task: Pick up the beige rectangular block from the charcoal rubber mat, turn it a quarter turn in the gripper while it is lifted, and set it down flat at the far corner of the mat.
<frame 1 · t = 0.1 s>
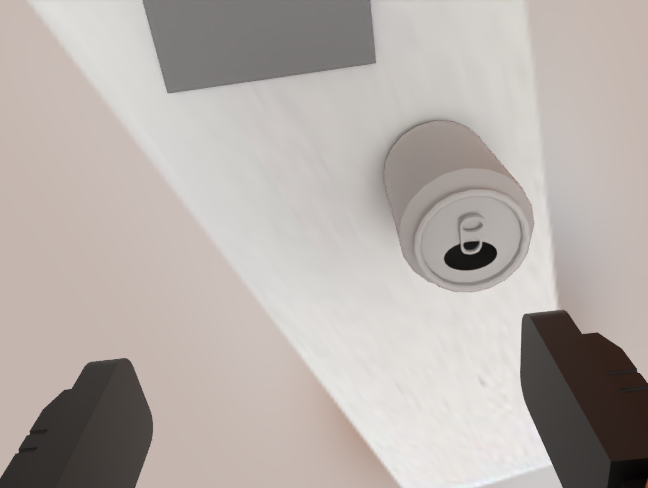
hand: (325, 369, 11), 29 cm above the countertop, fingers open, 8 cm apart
can: (433, 167, 40), on the countertop
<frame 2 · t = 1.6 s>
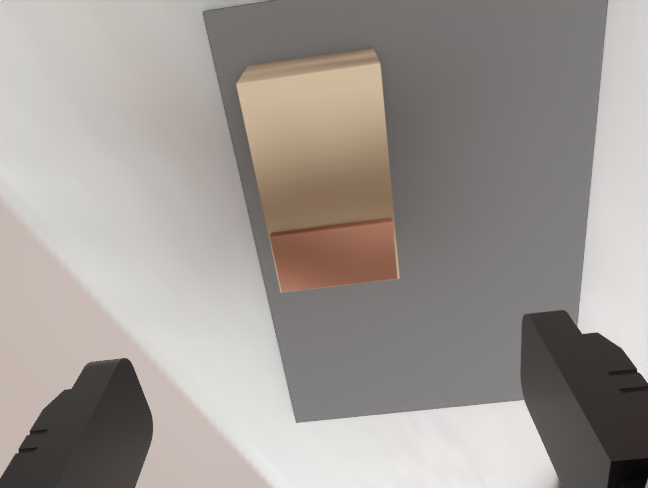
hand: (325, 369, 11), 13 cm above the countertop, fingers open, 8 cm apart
mat: (417, 232, 24), on the countertop
beige rectangular block: (325, 160, 22), resting on mat
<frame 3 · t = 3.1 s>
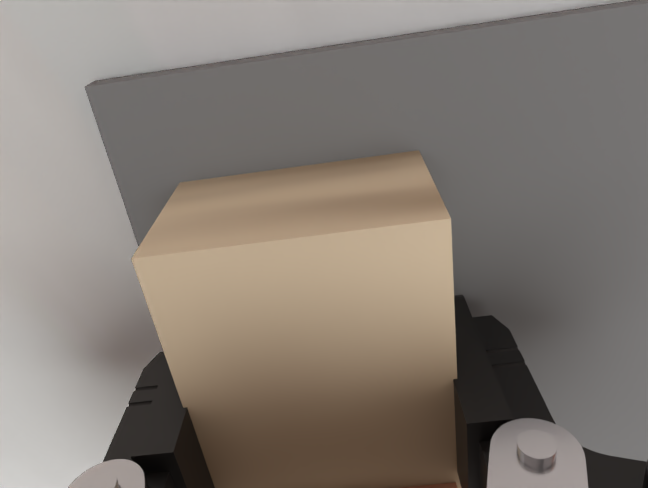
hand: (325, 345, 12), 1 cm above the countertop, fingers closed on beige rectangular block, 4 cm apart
mat: (481, 431, 14), on the countertop
beige rectangular block: (326, 335, 12), resting on mat, touching gripper
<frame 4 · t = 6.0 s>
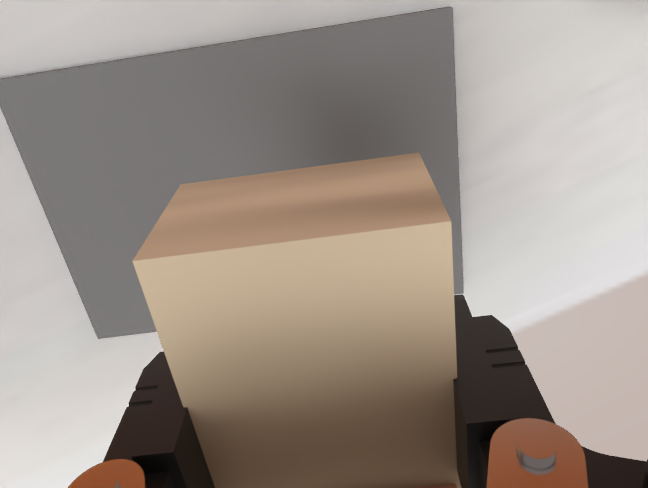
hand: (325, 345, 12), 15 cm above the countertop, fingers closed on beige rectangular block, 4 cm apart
mat: (250, 193, 27), on the countertop
beige rectangular block: (327, 336, 12), point 15 cm above the countertop, touching gripper
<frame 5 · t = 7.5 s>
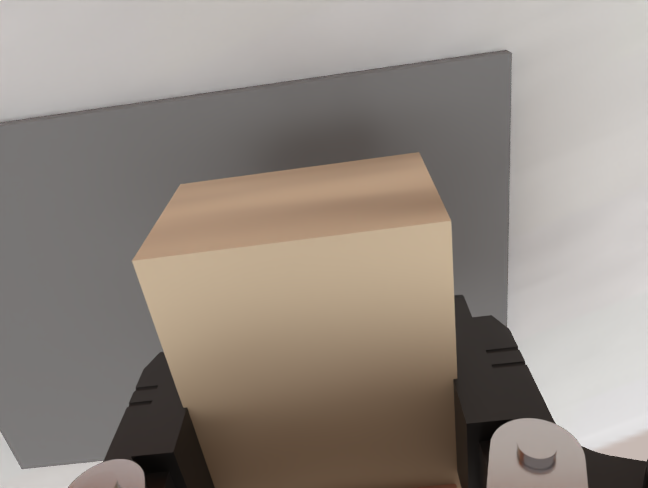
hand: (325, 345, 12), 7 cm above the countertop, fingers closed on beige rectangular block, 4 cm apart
mat: (220, 294, 20), on the countertop
beige rectangular block: (327, 336, 12), point 7 cm above the countertop, touching gripper
when the fingers open (3 cm above the countertop, at t = 8.7 s): beige rectangular block drops 2 cm, resting on mat.
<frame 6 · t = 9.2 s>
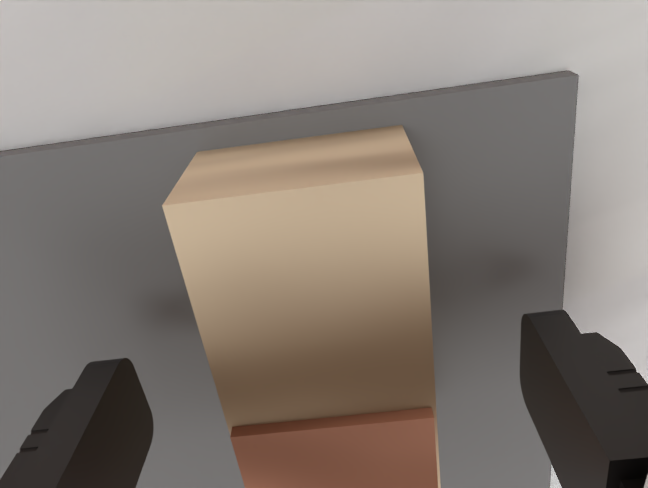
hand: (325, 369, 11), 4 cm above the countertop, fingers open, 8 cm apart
mat: (200, 368, 16), on the countertop
beige rectangular block: (322, 289, 14), resting on mat
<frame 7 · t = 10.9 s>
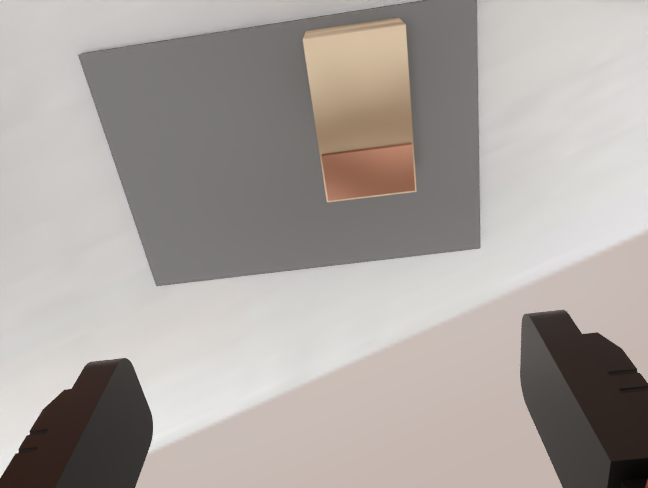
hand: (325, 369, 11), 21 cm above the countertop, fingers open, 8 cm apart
mat: (295, 156, 31), on the countertop
beige rectangular block: (360, 104, 29), resting on mat
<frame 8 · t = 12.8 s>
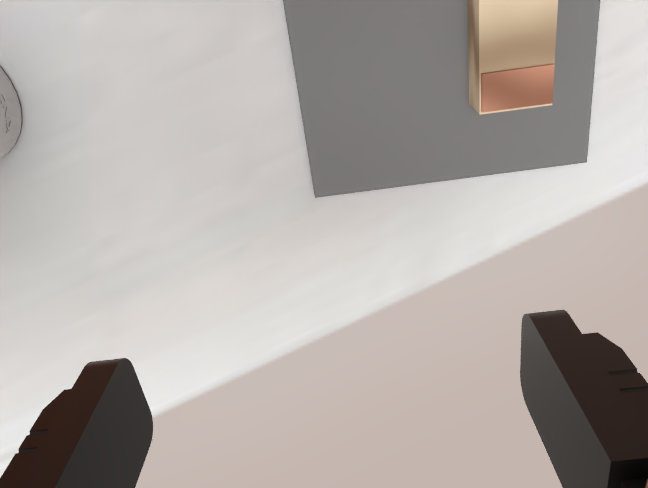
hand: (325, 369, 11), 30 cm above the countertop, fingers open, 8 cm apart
mat: (443, 83, 38), on the countertop
beige rectangular block: (503, 38, 36), resting on mat
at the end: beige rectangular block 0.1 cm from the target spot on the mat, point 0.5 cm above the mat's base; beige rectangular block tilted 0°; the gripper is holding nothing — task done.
